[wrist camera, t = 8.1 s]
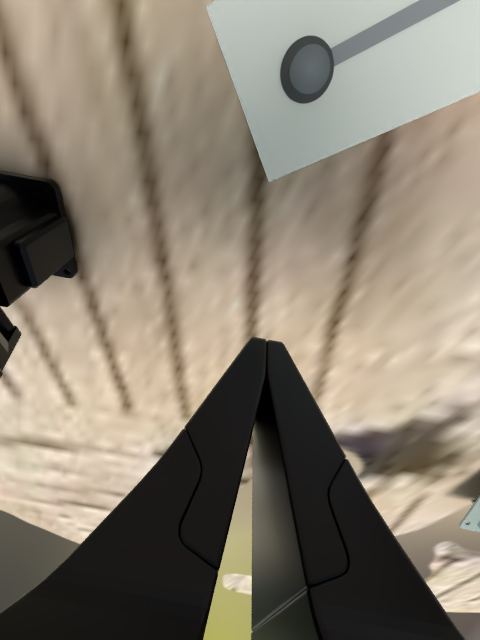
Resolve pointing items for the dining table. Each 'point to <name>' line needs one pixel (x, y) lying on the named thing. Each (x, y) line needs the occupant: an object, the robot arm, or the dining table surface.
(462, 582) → the dining table surface
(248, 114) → the bolt plate
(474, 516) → the metal bracket
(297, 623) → the robot arm
